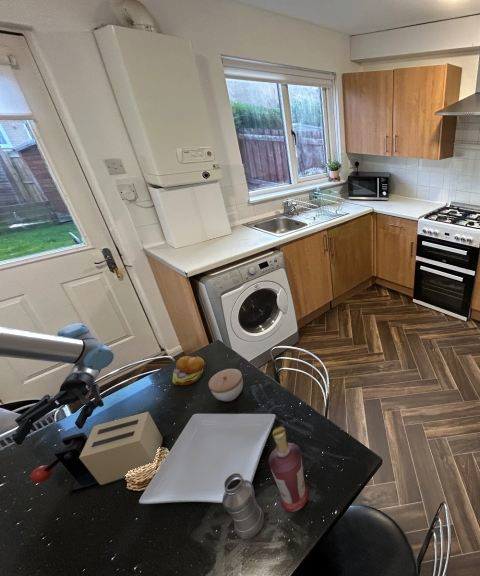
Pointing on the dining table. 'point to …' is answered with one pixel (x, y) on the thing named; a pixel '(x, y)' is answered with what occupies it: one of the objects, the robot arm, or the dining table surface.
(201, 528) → the dining table surface
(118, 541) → the dining table surface
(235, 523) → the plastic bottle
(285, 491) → the liquor
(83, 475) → the lever bracket
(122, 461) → the toaster
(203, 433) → the square plate
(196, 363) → the cheeseburger
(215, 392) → the trinket box
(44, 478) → the lever
